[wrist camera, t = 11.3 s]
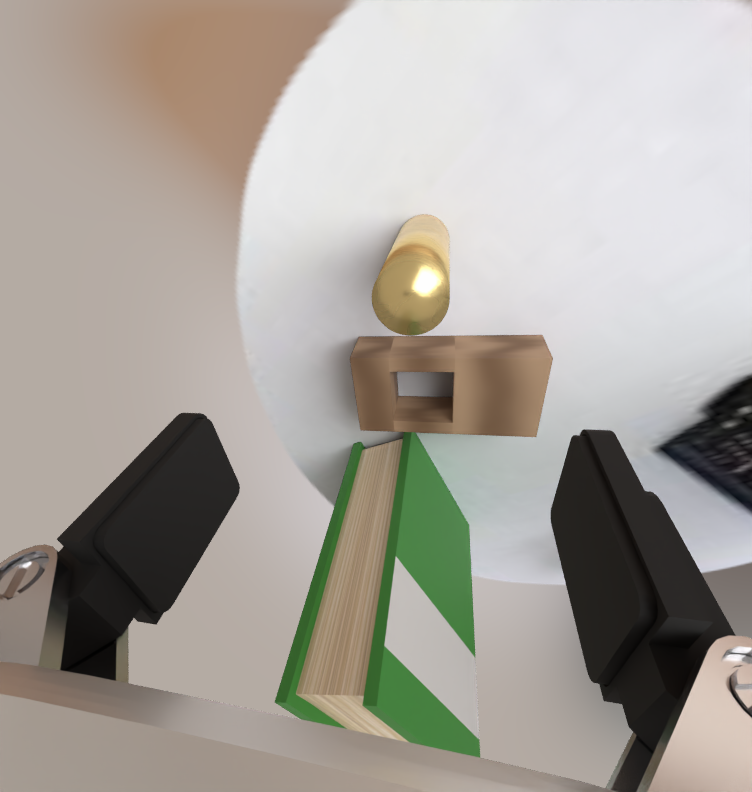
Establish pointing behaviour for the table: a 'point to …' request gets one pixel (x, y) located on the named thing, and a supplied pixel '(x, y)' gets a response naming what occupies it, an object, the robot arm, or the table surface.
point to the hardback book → (390, 609)
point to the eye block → (472, 383)
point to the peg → (415, 278)
